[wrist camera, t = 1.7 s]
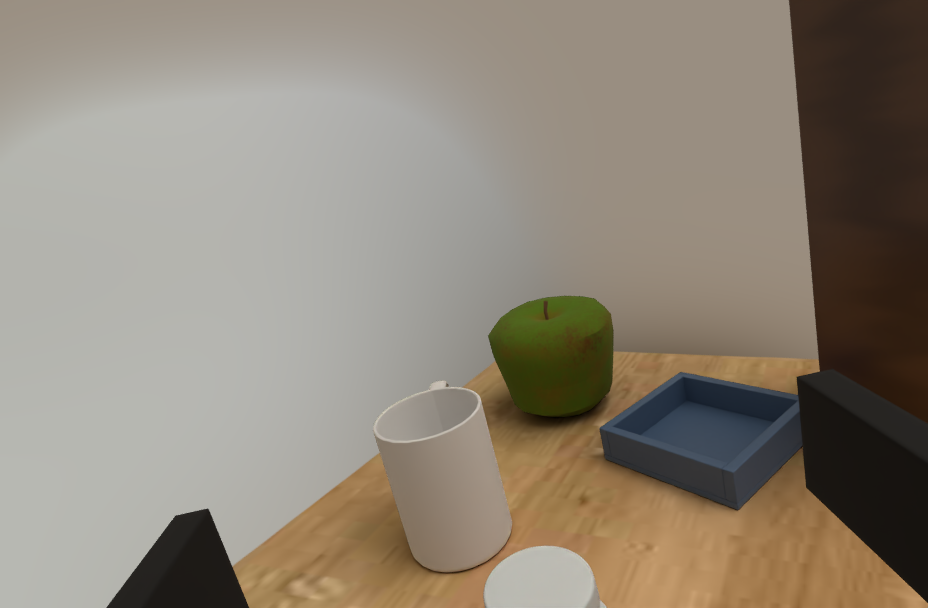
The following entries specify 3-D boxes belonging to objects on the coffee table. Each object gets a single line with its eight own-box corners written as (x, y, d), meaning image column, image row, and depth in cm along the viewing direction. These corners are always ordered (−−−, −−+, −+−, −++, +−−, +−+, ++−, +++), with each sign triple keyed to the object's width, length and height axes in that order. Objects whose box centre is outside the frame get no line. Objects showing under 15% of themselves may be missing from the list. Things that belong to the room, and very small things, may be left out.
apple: (501, 392, 66) (479, 300, 63) (605, 367, 65) (587, 273, 62) (516, 446, 53) (488, 335, 51) (643, 415, 53) (623, 302, 50)
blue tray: (816, 432, 45) (813, 397, 44) (738, 510, 39) (733, 472, 38) (684, 400, 54) (680, 371, 53) (605, 459, 48) (598, 427, 47)
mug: (515, 563, 39) (480, 428, 36) (404, 583, 40) (362, 452, 37) (508, 466, 51) (481, 358, 48) (423, 482, 51) (391, 377, 49)
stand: (1027, 410, 41) (1039, -161, 32) (985, 480, 36) (985, -179, 27) (867, 383, 49) (840, -78, 40) (814, 437, 44) (769, -79, 35)
